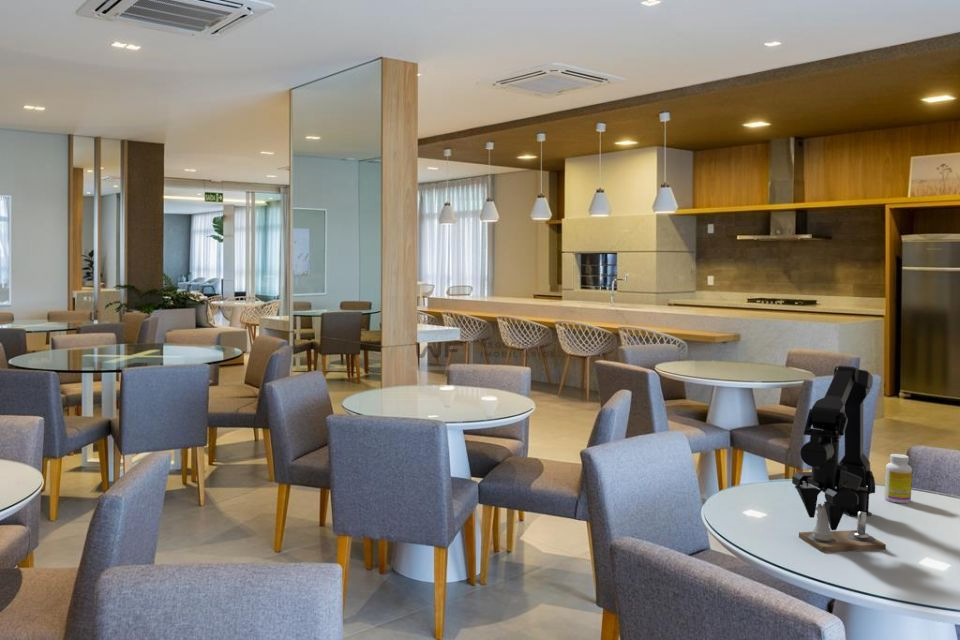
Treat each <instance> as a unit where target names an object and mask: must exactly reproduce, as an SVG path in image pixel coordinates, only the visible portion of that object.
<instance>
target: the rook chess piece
mask: <svg viewBox="0 0 960 640" xmlns="http://www.w3.org/2000/svg"><path fill="white" fill-rule="evenodd" d="M816 512H817V513H816V517H817V519H816V525H815V526H814V528H813V530H812V531H811V532H813V533H814V534H812V536H813V538H814V539H816V540H820V541H830V540H831V539H832V537H831V535H832V532H831V531H832V530H831V528H830V525H829V521H828V517H827V512H826V508H825V504H824V503H823V504H822V503H817V506H816Z"/></svg>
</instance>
